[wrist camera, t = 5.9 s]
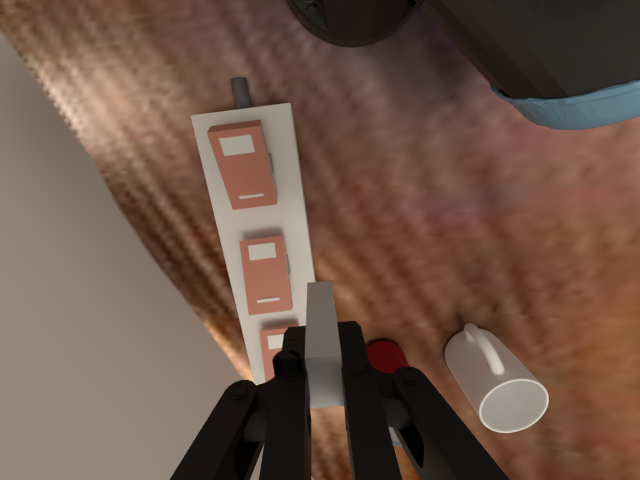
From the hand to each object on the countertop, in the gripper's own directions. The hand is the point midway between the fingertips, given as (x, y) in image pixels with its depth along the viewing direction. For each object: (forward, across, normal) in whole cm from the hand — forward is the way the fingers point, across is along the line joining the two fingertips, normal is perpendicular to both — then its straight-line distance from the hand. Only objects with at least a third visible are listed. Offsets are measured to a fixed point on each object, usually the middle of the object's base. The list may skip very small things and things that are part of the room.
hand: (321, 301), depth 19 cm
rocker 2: (+14, -6, -4) cm, 15 cm away
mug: (+20, +21, -21) cm, 36 cm away
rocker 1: (+14, -6, +7) cm, 17 cm away
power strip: (+20, -6, -3) cm, 21 cm away
